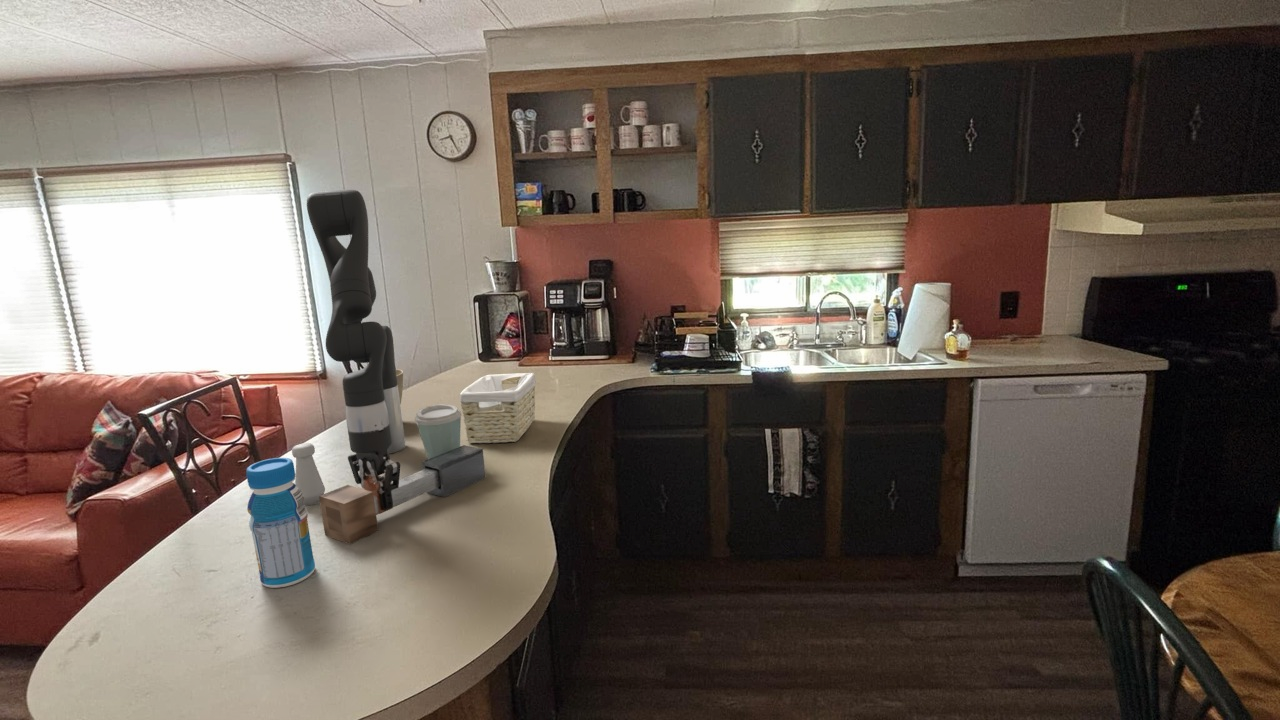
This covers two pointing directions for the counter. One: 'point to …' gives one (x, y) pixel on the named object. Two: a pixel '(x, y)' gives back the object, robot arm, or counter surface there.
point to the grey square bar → (406, 487)
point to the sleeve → (457, 469)
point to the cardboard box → (348, 513)
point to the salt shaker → (307, 474)
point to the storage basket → (498, 407)
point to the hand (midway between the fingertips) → (379, 506)
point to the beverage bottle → (279, 524)
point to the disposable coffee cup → (439, 428)
